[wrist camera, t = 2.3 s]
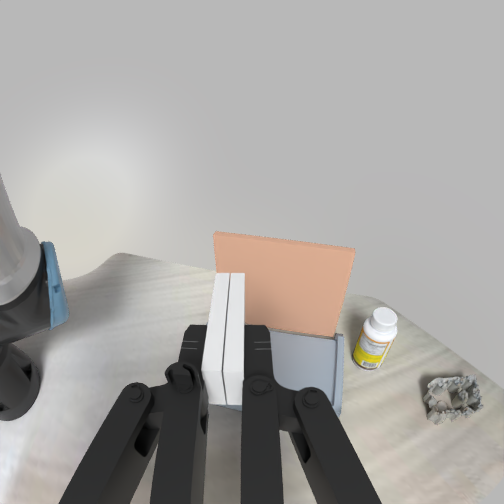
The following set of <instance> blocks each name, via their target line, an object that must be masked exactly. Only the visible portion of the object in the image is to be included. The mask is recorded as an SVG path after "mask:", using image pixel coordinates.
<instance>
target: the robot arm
mask: <svg viewBox="0 0 504 504" xmlns="http://www.w3.org/2000/svg"><path fill="white" fill-rule="evenodd" d="M68 317H69V308H68V304H67V299H66V295H65V291H64V287H63V283H62V278H61V274H60V270H59V266H58V261H57V257H56V252H55V248H54V245H53V243H52V242H41V244H39V241H38V239H37V237H36V236H35V235H34V233H33V232H31V231H30V230H29V229H27V228H24V227H20V226H19V224H18V221H17V219H16V216H15V214H14V211H13V209H12V206H11V204H10V201H9V198H8V195H7V193H6V190H5V187H4V184H3V181H2V178H1V174H0V420H2V421H11V420H14V419H17V418H19V417H21V416H22V415H23V414H25V413H26V412H27V411H28V410H29V408H30V407H31V406H32V404H33V403H34V401H35V399H36V396H37V394H38V390H39V383H40V379H39V373H38V370H37V368H36V366H35V365H34V363H33V362H32V361H31V359H30V358H29V357H28V356H27V355H26V354H25V353H24V352H22V351H21V350H20V349H19V348H17V347H16V346H15V345H13V344H12V342H15V341H18V340H21V339H23V338H26V337H29V336H32V335H34V334H37V333H40V332H43V331H45V330H48V329H49V330H52V329H53V327H56V326H58V325H60V324H63V323H64V322H66V321H67V319H68ZM165 376H166V378H167V381H168V383H166V384H164V385H161V386H156V387H150V388H148V386H146V385H145V384H143V383H138V382H136V383H131V384H129V385H127V386H126V387H125V388H124V389H123V390H122V392H121V394H120V395H119V397H118V399H117V400H116V402H115V404H114V405H113V407H112V409H111V410H110V412H109V414H108V415H107V417H106V419H105V420H104V422H103V424H102V426H101V427H100V429H99V431H98V432H97V434H96V436H95V438H94V439H93V441H92V443H91V445H90V446H89V448H88V450H87V452H86V454H85V455H84V457H83V459H82V461H81V462H80V464H79V466H78V468H77V470H76V472H75V473H74V475H73V477H72V479H71V481H70V483H69V485H68V486H67V488H66V490H65V492H64V494H63V496H62V498H61V500H60V502H59V504H130V502H131V500H132V498H133V495H134V493H135V491H136V489H137V487H138V485H139V482H140V480H141V478H142V476H143V474H144V472H145V470H146V467H147V465H148V463H149V461H150V459H151V457H152V454H153V452H154V450H155V448H156V446H157V444H158V448H157V455H156V461H155V468H154V475H153V482H152V489H151V497H150V504H203V495H204V476H205V460H206V445H207V431H208V418H209V414H208V409H207V408H208V401H209V404H221V405H226V397H227V404H228V405H242V436H241V504H284V500H283V482H282V466H281V450H280V435H279V430H283V431H288V432H289V435H290V438H291V440H292V443H293V445H294V448H295V450H296V453H297V455H298V458H299V460H300V463H301V465H302V468H303V470H304V473H305V475H306V478H307V480H308V482H309V485H310V487H311V490H312V492H313V494H314V497H315V499H316V502H317V504H382V503H381V501H380V499H379V497H378V495H377V493H376V491H375V489H374V487H373V485H372V483H371V481H370V479H369V477H368V475H367V473H366V471H365V470H364V468H363V466H362V464H361V462H360V460H359V458H358V456H357V454H356V452H355V450H354V448H353V446H352V444H351V442H350V440H349V438H348V436H347V434H346V432H345V430H344V428H343V426H342V424H341V422H340V420H339V419H338V417H337V415H336V413H335V411H334V409H333V407H332V405H331V403H330V401H329V399H328V397H327V395H326V394H325V393H324V391H322V390H320V389H319V388H316V387H305V388H303V389H301V390H299V391H296V390H292V389H288V388H285V387H283V386H281V385H280V384H279V383H278V382H277V381H276V380H275V378H274V374H273V361H272V350H271V338H270V332H269V330H268V329H267V327H266V326H265V325H245V273H231V278H230V273H216V276H215V282H214V288H213V294H212V301H211V307H210V313H209V320H208V325H190V326H189V327H188V328H187V330H186V331H185V333H184V337H183V342H182V346H181V351H180V355H179V360H178V362H176V363H174V364H172V365H170V366H169V367H168V368H167V369H166V371H165Z"/></svg>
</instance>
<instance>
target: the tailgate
mask: <svg viewBox="0 0 504 504" xmlns="http://www.w3.org/2000/svg"><path fill="white" fill-rule="evenodd" d="M213 238H214V250H215V260H216V270H217V273H230V278H231V273H245V323H246V324H252V325H265V326H266V327H269V328H275V329H281V330H288V331H294V332H301V333H308V334H316V335H323V336H331V337H333V336H334V332H335V329H336V326H337V322H338V319H339V315H340V312H341V308H342V305H343V301H344V297H345V293H346V289H347V286H348V282H349V278H350V274H351V269H352V265H353V260H354V256H355V249H354V248H347V247H339V246H332V245H324V244H316V243H309V242H301V241H293V240H284V239H277V238H269V237H260V236H252V235H243V234H235V233H226V232H218V231H217V232H215V233H214V234H213Z"/></svg>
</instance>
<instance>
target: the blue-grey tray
mask: <svg viewBox="0 0 504 504" xmlns="http://www.w3.org/2000/svg"><path fill="white" fill-rule="evenodd" d="M206 325H208V322H207V324H206ZM269 332H270V338H271V350H272V361H273V374H274V378H275V380H276V381H277V382H278V383H279V384H280V385H281V386H283V387H285V388H288V389H292V390H296V391H299V390H301V389H303V388H305V387H316V388H319V389H320V390H322V391H324V393H325V394H326V395H327V397H328V399H329V401H330V403H331V405H332V407H333V409H334V411H335V413H336V415H337V417H339V416H340V414H341V407H342V391H343V369H344V337H343V334H337V333H335V337H334V340H331V339H323V338H315V337H308V336H301V335H294V334H287V333H281V332H275V331H269ZM208 403H209V401H208ZM215 405H218V406H222V407H226V408H230V409H234V410H239V411H242V405H228V404H227V397H226V405H221V404H215Z"/></svg>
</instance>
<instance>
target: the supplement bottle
mask: <svg viewBox="0 0 504 504" xmlns="http://www.w3.org/2000/svg"><path fill="white" fill-rule="evenodd" d="M396 322H397V315H396V314H395V312H394V311H392V310H391V309H389V308H385V307H379V308H376V309H375V310H374V311H373V314H372V316H370V317H368V318H367V319H366V320H365V322H364V324H363V327H362V330H361V333H360V336H359V338H358V341H357V344H356V347H355V349H354V352H353V356H352V357H353V361H354V363H355V365H356V366H357V367H358V368H360V369H362V370H365V371H373V370H376V369H378V368H379V367H380V366H381V365H382V363H383V361H384V359H385V357H386V355H387V353H388V351H389V349H390V347H391V345H392V343H393V341H394V339H395V337H396V334H397V326H396Z"/></svg>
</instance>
